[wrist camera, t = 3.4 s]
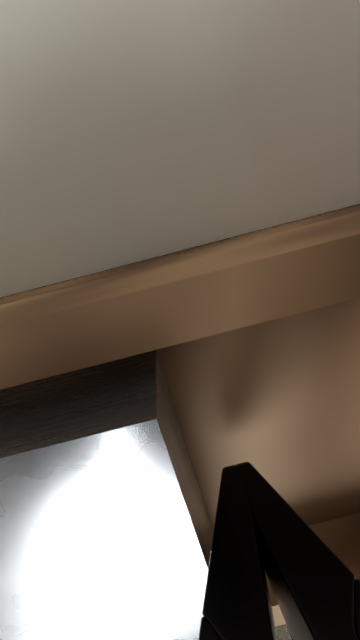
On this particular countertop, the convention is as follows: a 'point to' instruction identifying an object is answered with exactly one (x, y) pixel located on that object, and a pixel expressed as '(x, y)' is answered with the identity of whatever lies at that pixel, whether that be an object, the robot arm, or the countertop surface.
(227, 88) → the countertop surface
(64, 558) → the cover plate
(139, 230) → the countertop surface
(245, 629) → the robot arm
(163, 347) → the walnut box
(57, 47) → the countertop surface
